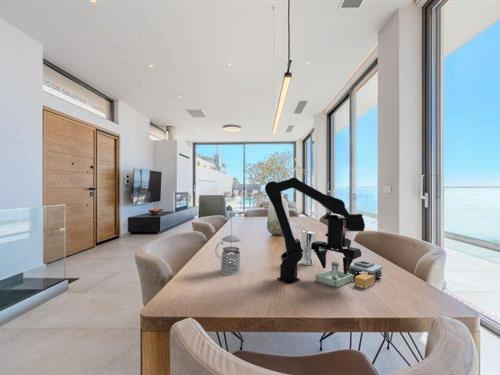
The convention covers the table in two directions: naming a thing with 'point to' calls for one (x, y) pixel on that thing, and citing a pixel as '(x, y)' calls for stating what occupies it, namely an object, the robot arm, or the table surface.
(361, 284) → the orange rectangular block
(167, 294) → the table surface
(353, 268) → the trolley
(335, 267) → the pin
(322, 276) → the tray
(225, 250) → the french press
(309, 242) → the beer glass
